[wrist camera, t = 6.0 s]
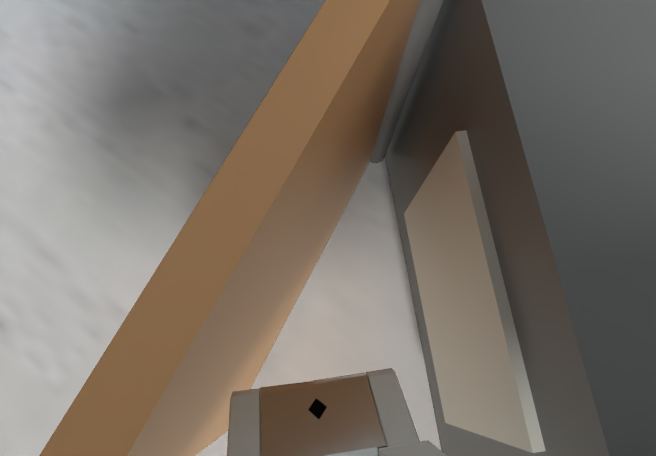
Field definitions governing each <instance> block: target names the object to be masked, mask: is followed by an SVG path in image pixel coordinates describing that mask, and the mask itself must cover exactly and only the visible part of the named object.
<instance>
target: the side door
mask: <svg viewBox="0 0 656 456" xmlns="http://www.w3.org/2000/svg"><path fill="white" fill-rule="evenodd" d="M442 3H443V0H325V2H324V4H323V5H322V7H321V8H320V10H319V12H318V13H317V15H316V16H315V18H314V20H313V21H312V23H311V24H310V26H309V27H308V29H307V31H306V32H305V34H304V35H303V37H302V39H301V40H300V42H299V43H298V45H297V47H296V48H295V50H294V51H293V53H292V55H291V56H290V58H289V59H288V61H287V62H286V64H285V66H284V67H283V69H282V70H281V72H280V74H279V75H278V77H277V78H276V80H275V82H274V83H273V85H272V86H271V88H270V90H269V91H268V93H267V94H266V96H265V97H264V99H263V101H262V102H261V104H260V105H259V107H258V109H257V110H256V112H255V113H254V115H253V117H252V118H251V120H250V121H249V123H248V125H247V126H246V128H245V129H244V131H243V133H242V134H241V136H240V137H239V139H238V140H237V142H236V144H235V145H234V147H233V148H232V150H231V152H230V153H229V155H228V156H227V158H226V160H225V161H224V163H223V164H222V166H221V168H220V169H219V171H218V172H217V174H216V175H215V177H214V179H213V180H212V182H211V183H210V185H209V187H208V188H207V190H206V191H205V193H204V195H203V196H202V198H201V199H200V201H199V203H198V204H197V206H196V207H195V209H194V210H193V212H192V214H191V215H190V217H189V218H188V220H187V222H186V223H185V225H184V226H183V228H182V230H181V231H180V233H179V234H178V236H177V238H176V239H175V241H174V242H173V244H172V246H171V247H170V249H169V250H168V252H167V253H166V255H165V257H164V258H163V260H162V261H161V263H160V265H159V266H158V268H157V269H156V271H155V273H154V274H153V276H152V277H151V279H150V281H149V282H148V284H147V285H146V287H145V288H144V290H143V292H142V293H141V295H140V296H139V298H138V300H137V301H136V303H135V304H134V306H133V308H132V309H131V311H130V312H129V314H128V316H127V317H126V319H125V320H124V322H123V323H122V325H121V327H120V328H119V330H118V331H117V333H116V335H115V336H114V338H113V339H112V341H111V343H110V344H109V346H108V347H107V349H106V351H105V352H104V354H103V355H102V357H101V359H100V360H99V362H98V363H97V365H96V366H95V368H94V370H93V371H92V373H91V374H90V376H89V378H88V379H87V381H86V382H85V384H84V386H83V387H82V389H81V390H80V392H79V394H78V395H77V397H76V398H75V400H74V401H73V403H72V405H71V406H70V408H69V409H68V411H67V413H66V414H65V416H64V417H63V419H62V421H61V422H60V424H59V425H58V427H57V429H56V430H55V432H54V433H53V435H52V436H51V438H50V440H49V441H48V443H47V444H46V446H45V448H44V449H43V451H42V452H41V454H40V456H195V455H197V454H198V453H199V452H201V451H202V450H203V449H205V448H206V447H207V446H208V445H210V444H211V443H212V442H214V441H215V440H216V439H218V438H219V437H220V436H222V435H223V434H224V433H226V432H227V431H228V429H229V411H230V398H231V395H232V392H234V391H242V390H250V389H251V387H252V385H253V383H254V381H255V379H256V377H257V375H258V373H259V371H260V370H261V368H262V366H263V364H264V362H265V360H266V358H267V356H268V354H269V352H270V351H271V349H272V347H273V345H274V343H275V341H276V339H277V337H278V335H279V333H280V332H281V330H282V328H283V326H284V324H285V322H286V320H287V318H288V316H289V314H290V312H291V311H292V309H293V307H294V305H295V303H296V301H297V299H298V297H299V295H300V293H301V292H302V290H303V288H304V286H305V284H306V282H307V280H308V278H309V276H310V274H311V273H312V271H313V269H314V267H315V265H316V263H317V261H318V259H319V257H320V255H321V254H322V252H323V250H324V248H325V246H326V244H327V242H328V240H329V238H330V236H331V235H332V233H333V231H334V229H335V227H336V225H337V223H338V221H339V219H340V217H341V216H342V214H343V212H344V210H345V208H346V206H347V204H348V202H349V200H350V198H351V196H352V195H353V193H354V191H355V189H356V187H357V185H358V183H359V181H360V179H361V177H362V176H363V174H364V172H365V170H366V168H367V166H368V164H369V162H372V163H378V162H380V161H382V160H383V159H384V157H385V155H386V152H387V149H388V147H389V144H390V141H391V139H392V136H393V133H394V131H395V128H396V125H397V123H398V120H399V117H400V115H401V112H402V109H403V107H404V104H405V101H406V99H407V96H408V93H409V91H410V88H411V85H412V83H413V80H414V77H415V75H416V72H417V69H418V67H419V64H420V61H421V59H422V56H423V53H424V51H425V48H426V45H427V43H428V40H429V37H430V35H431V32H432V29H433V27H434V24H435V21H436V19H437V16H438V13H439V11H440V8H441V5H442Z"/></svg>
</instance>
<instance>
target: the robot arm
mask: <svg viewBox="0 0 656 456" xmlns="http://www.w3.org/2000/svg"><path fill="white" fill-rule="evenodd" d="M227 456H447V455H445V454H444V453H443V452H442V451H441V450H439V449H438V448H437V447H436V446H434V445H433V444H432V443H431V442H429V441H421V442H420V441H419V438H418V435H417V432H416V429H415V427H414V424H413V421H412V418H411V415H410V412H409V410H408V407H407V404H406V401H405V398H404V395H403V393H402V390H401V387H400V384H399V381H398V378H397V376H396V373H395V371H394V370H393V369H392V368H390V369H384V370H377V371H371V372H366V374H365V373H358V374H352V375H345V376H339V377H333V378H327V379H320V380H314V381H311V382H303V383H295V384H286V385H278V386H270V387H262V388H258V389H250V390H242V391H234V392H232V395H231V398H230V411H229V429H228V447H227Z"/></svg>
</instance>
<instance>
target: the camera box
mask: <svg viewBox="0 0 656 456" xmlns="http://www.w3.org/2000/svg"><path fill="white" fill-rule="evenodd" d="M385 158H386V163H387V168H388V173H389V178H390V183H391V189H392V194H393V199H394V204H395V209H396V215H397V220H398V225H399V230H400V235H401V241H402V246H403V251H404V256H405V261H406V266H407V272H408V277H409V282H410V287H411V292H412V298H413V303H414V308H415V313H416V318H417V324H418V329H419V334H420V339H421V344H422V349H423V355H424V360H425V365H426V370H427V375H428V381H429V386H430V391H431V396H432V401H433V407H434V412H435V417H436V422H437V427H438V432H439V438H440V443H441V448H442V452H443V453H444V454H445V455H447V456H656V0H443V3H442V5H441V8H440V11H439V13H438V16H437V19H436V21H435V24H434V27H433V29H432V32H431V35H430V37H429V40H428V43H427V45H426V48H425V51H424V53H423V56H422V59H421V61H420V64H419V67H418V69H417V72H416V75H415V77H414V80H413V83H412V85H411V88H410V91H409V93H408V96H407V99H406V101H405V104H404V107H403V109H402V112H401V115H400V117H399V120H398V123H397V125H396V128H395V131H394V133H393V136H392V139H391V141H390V144H389V147H388V149H387V152H386V155H385Z"/></svg>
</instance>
